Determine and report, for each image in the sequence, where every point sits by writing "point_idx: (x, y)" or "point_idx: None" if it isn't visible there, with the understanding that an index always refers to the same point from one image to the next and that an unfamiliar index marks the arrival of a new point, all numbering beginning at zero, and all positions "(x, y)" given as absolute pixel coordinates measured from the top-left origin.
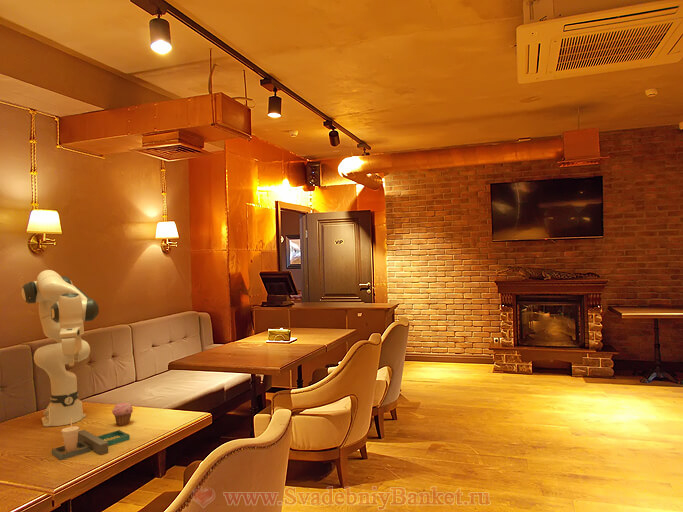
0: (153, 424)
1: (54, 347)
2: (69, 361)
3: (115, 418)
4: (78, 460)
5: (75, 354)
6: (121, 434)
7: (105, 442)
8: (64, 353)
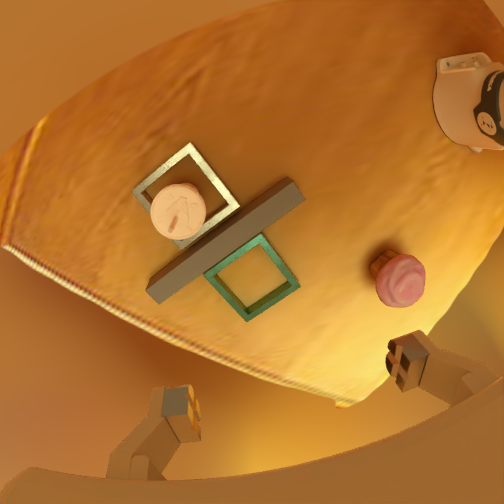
0: (341, 335)
1: None
2: (143, 427)
3: (390, 256)
4: (125, 236)
5: (458, 384)
6: (272, 296)
7: (161, 298)
8: (9, 491)
